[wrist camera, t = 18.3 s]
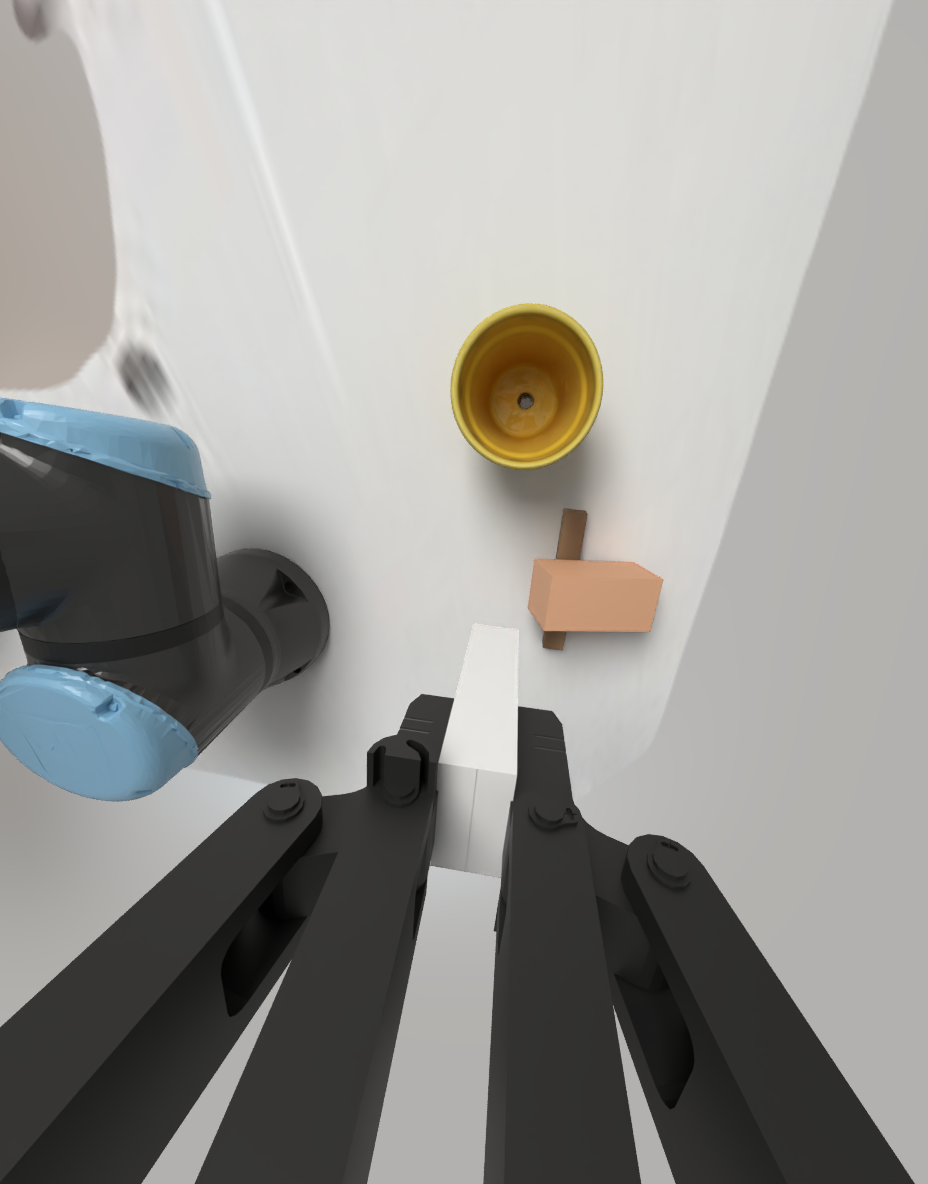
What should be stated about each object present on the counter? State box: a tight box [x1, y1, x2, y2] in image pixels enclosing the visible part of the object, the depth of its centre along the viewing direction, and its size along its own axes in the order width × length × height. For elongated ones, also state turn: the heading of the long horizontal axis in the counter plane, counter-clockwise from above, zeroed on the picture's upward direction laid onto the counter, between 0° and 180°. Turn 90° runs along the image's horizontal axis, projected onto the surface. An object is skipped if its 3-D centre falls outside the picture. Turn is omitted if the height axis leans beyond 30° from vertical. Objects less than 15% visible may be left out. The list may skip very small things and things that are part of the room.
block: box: [528, 559, 663, 632], centre depth 40 cm, size 5×5×10 cm
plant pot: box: [451, 304, 603, 470], centre depth 34 cm, size 10×10×10 cm
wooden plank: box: [542, 509, 587, 650], centre depth 43 cm, size 2×14×2 cm, turn 175°
